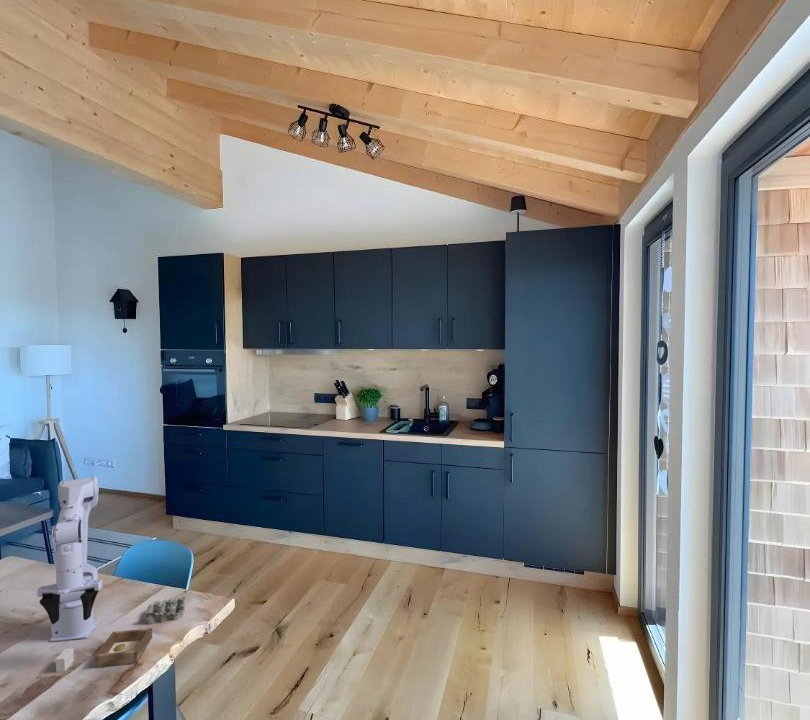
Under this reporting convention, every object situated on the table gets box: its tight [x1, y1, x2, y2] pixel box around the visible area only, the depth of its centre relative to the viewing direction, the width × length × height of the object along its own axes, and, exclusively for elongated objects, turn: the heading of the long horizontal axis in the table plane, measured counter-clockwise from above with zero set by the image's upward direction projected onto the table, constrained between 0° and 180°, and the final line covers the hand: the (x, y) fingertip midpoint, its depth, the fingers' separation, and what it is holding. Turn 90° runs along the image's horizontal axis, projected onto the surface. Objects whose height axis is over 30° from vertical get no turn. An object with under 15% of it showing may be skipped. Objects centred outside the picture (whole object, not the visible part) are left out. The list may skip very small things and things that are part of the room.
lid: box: [55, 647, 75, 673], centre depth 119 cm, size 11×11×4 cm
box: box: [94, 627, 153, 669], centre depth 124 cm, size 10×10×3 cm
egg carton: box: [143, 595, 186, 625], centre depth 140 cm, size 11×8×4 cm
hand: (71, 620), depth 121 cm, fingers open, 7 cm apart
